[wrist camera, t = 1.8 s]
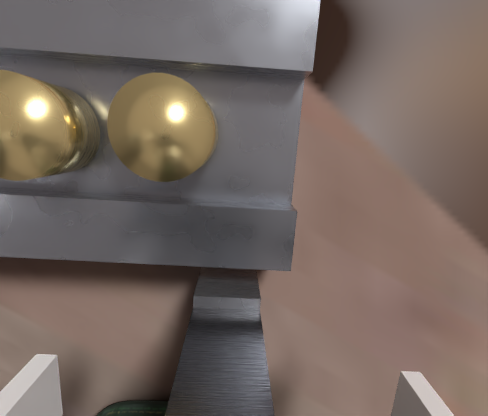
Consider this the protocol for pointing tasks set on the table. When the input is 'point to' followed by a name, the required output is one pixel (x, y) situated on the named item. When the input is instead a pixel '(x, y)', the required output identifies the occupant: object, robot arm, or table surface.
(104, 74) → the slot board
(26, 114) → the gold dome knob
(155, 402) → the coffee jar
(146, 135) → the brass round knob
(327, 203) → the table surface
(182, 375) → the stepped gray block
